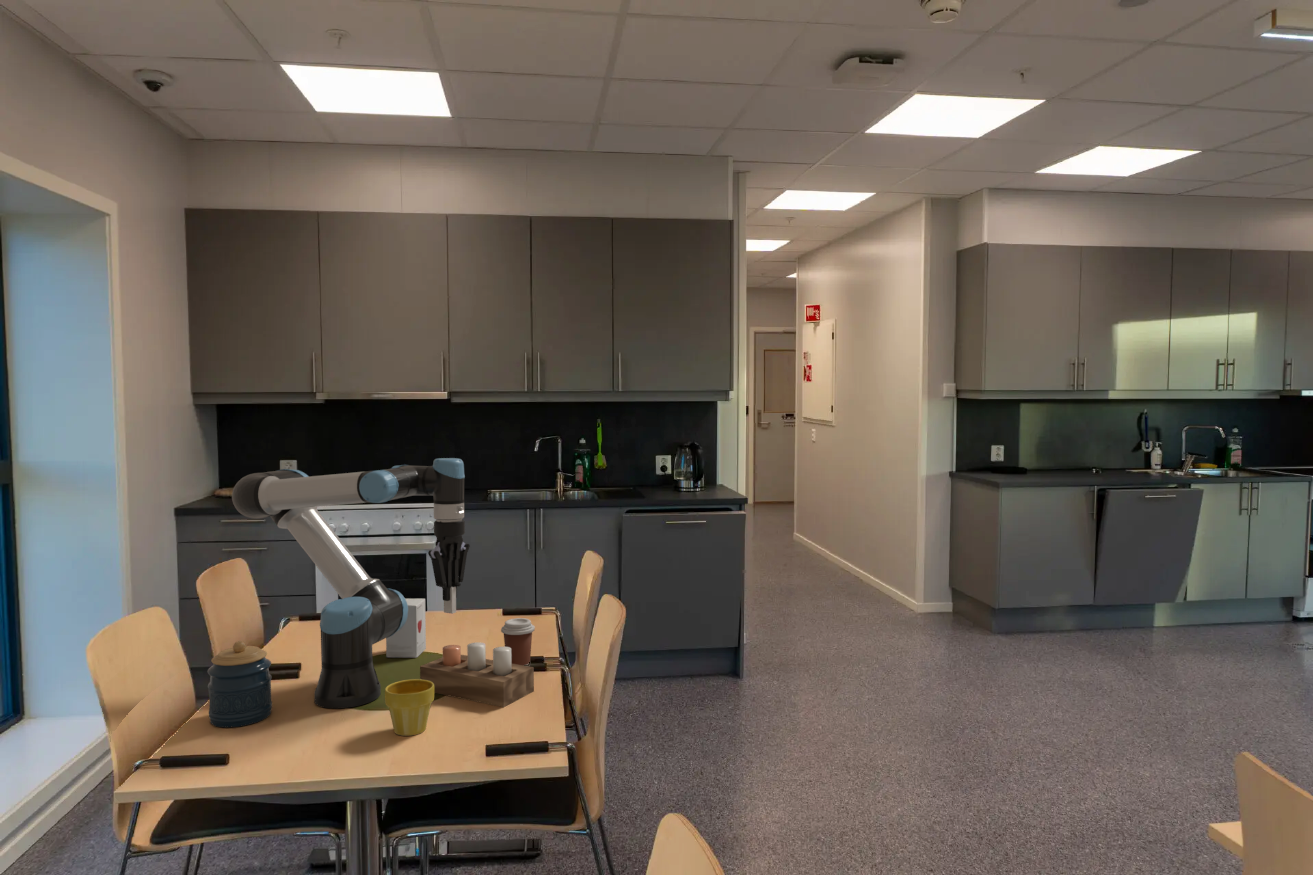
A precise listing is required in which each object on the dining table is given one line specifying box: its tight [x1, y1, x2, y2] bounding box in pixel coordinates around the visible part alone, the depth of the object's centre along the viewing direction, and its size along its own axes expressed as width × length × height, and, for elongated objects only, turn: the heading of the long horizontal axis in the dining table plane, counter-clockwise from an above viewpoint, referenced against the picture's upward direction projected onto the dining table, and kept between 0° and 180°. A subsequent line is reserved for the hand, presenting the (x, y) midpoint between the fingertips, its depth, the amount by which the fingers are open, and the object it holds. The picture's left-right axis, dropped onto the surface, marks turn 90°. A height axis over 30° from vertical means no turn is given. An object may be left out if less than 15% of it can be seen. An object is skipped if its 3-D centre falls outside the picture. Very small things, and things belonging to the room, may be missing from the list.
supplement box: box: [385, 598, 427, 659], centre depth 234 cm, size 9×9×15 cm
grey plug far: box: [492, 646, 512, 676], centre depth 200 cm, size 4×4×7 cm
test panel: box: [419, 654, 535, 708], centre depth 203 cm, size 12×26×6 cm, turn 63°
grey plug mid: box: [466, 641, 487, 671], centre depth 203 cm, size 4×4×7 cm
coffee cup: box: [500, 617, 536, 666], centre depth 223 cm, size 9×9×12 cm
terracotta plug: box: [442, 644, 462, 667], centre depth 207 cm, size 4×4×7 cm
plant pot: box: [384, 678, 435, 737], centre depth 179 cm, size 10×10×10 cm
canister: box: [206, 640, 273, 728], centre depth 186 cm, size 13×13×18 cm
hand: (449, 612), depth 207 cm, fingers closed
